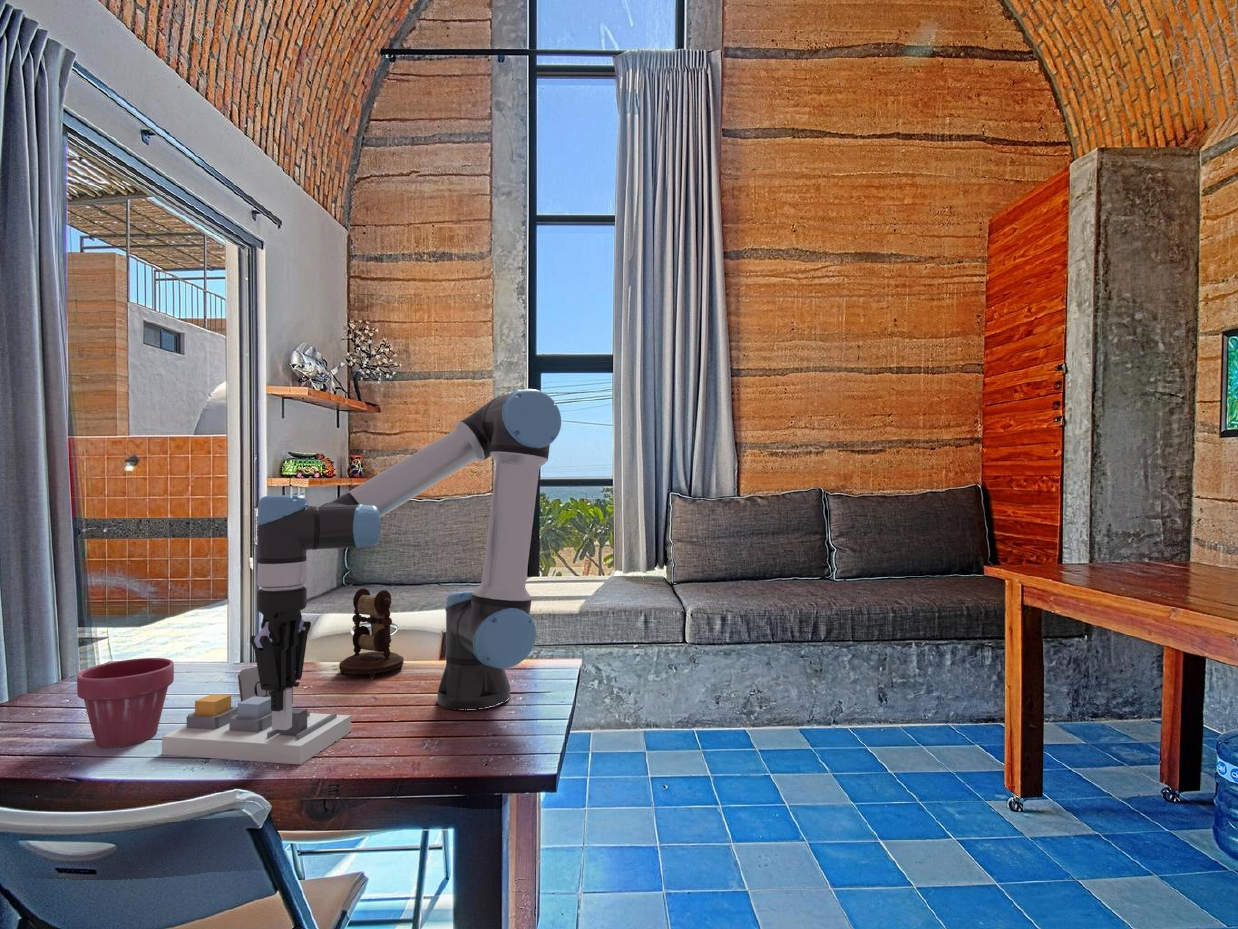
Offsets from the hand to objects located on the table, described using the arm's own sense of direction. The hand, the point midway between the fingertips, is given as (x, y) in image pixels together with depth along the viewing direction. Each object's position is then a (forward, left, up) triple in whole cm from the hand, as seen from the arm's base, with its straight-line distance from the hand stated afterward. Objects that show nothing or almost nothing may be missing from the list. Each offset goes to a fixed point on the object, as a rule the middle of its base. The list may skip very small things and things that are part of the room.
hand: (281, 728), depth 116 cm
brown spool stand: (+13, -52, -5) cm, 53 cm away
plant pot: (+34, -4, -5) cm, 34 cm away
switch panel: (+8, -6, -5) cm, 11 cm away
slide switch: (0, -3, -2) cm, 4 cm away
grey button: (+9, -6, 0) cm, 11 cm away
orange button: (+18, -6, 0) cm, 19 cm away
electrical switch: (+20, -22, -5) cm, 30 cm away
